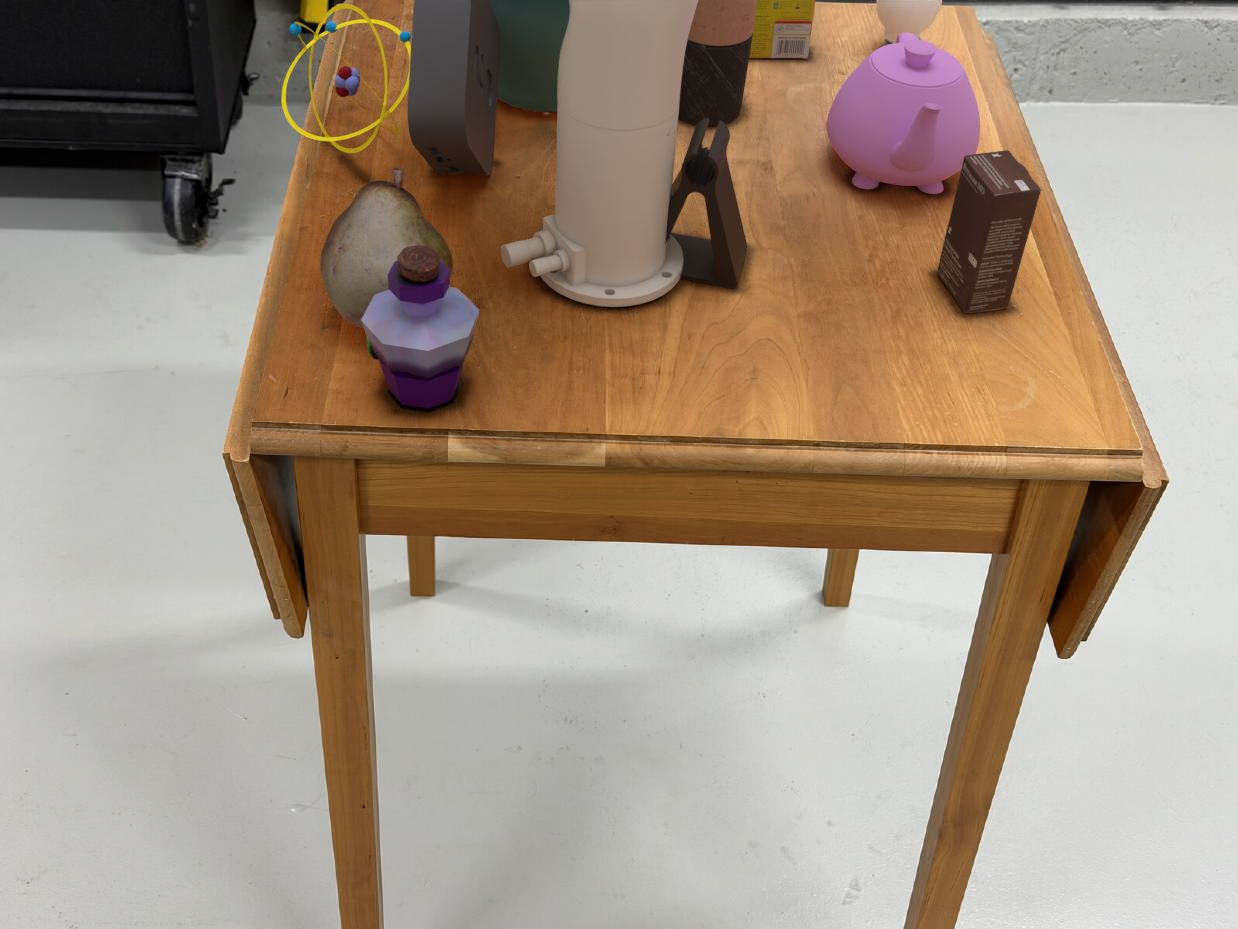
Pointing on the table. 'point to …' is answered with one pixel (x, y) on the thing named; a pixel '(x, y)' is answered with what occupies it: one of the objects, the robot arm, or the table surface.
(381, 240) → the fruit
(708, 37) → the travel mug
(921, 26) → the light bulb
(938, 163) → the teapot
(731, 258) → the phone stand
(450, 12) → the streaming box
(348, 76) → the atom model
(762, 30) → the crayon box
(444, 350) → the potion bottle
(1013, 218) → the box
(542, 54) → the flower pot
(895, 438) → the table surface
